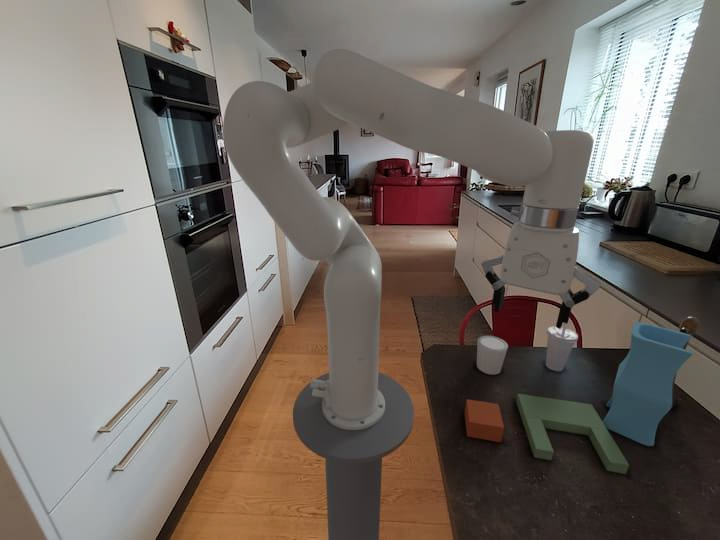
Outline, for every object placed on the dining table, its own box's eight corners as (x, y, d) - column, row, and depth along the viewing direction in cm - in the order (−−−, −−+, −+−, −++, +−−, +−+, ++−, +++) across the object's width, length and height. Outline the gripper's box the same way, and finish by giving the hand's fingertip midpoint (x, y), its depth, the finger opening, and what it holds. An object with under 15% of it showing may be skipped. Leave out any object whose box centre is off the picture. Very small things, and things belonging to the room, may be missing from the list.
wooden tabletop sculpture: (667, 413, 66) (703, 326, 59) (639, 399, 70) (670, 316, 63) (678, 402, 69) (713, 319, 62) (651, 389, 73) (681, 309, 66)
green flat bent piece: (533, 457, 56) (536, 448, 56) (515, 401, 69) (517, 393, 68) (626, 474, 53) (629, 465, 53) (589, 412, 66) (591, 404, 66)
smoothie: (541, 371, 79) (553, 319, 74) (538, 356, 84) (549, 308, 80) (571, 377, 77) (586, 325, 72) (566, 362, 82) (579, 312, 77)
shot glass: (504, 378, 76) (509, 353, 74) (473, 372, 78) (477, 347, 76) (502, 362, 82) (507, 338, 80) (474, 356, 84) (477, 333, 82)
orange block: (467, 436, 60) (469, 421, 59) (464, 412, 66) (466, 399, 65) (501, 442, 59) (504, 427, 58) (495, 418, 65) (498, 403, 63)
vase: (653, 449, 58) (693, 354, 51) (600, 425, 63) (630, 335, 56) (655, 424, 63) (691, 334, 57) (606, 404, 68) (634, 320, 62)
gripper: (482, 214, 52) (469, 310, 58) (616, 229, 42) (585, 343, 48) (495, 209, 58) (483, 296, 63) (617, 220, 48) (588, 323, 54)
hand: (527, 316), depth 56 cm, fingers open, 9 cm apart
